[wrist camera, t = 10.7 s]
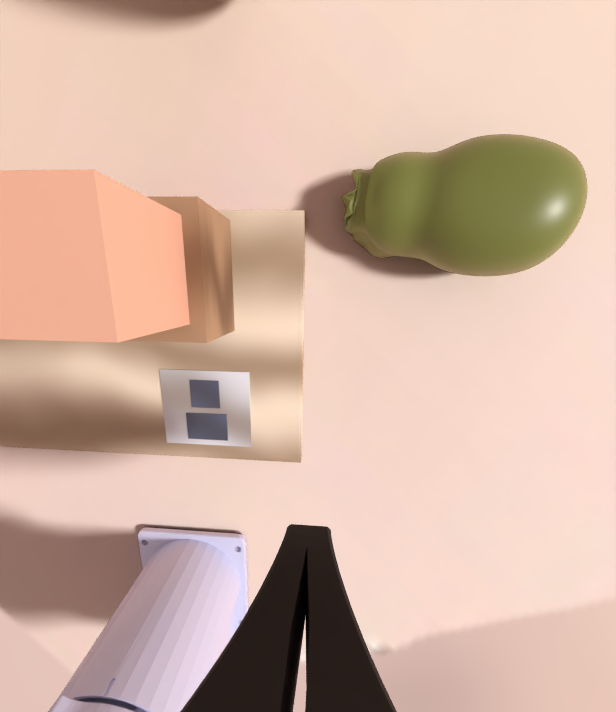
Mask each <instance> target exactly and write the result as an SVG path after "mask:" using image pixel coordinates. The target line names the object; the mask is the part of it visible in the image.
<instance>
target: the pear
mask: <svg viewBox="0 0 616 712" xmlns="http://www.w3.org/2000/svg"><path fill="white" fill-rule="evenodd" d="M352 177H353V181H354V184H355V186H356V189H354V190H352V191H350V192H348V193H346V194H345V195H347V196H345V195H343V196H342V199H343V202H344V205H345V208H346V213H345V217H344V230H345V231H347V232H348V233H350V234H351V235H352V236H353V237H354V240H355V241H356V242H357V243H359V244H360V245H361V246H362V247H365V248H366V249H367V251H368V252H369V253H370V254H371V255H373V256H375V257H380V258H385V257H390V256H401V257H410V258H417V259H421V260H424V261H426V262H428V263H430V264H431V265H433V266H435V267H437V268H440V269H442V270H445V271H448V272H452V273H457V274H463V275H471V276H499V275H507V274H512V273H517V272H520V271H524V270H526V269H529V268H531V267H534V266H536V265H538V264H539V263H541V262H543V261H544V260H546V259H547V258H549V257H550V256H551V255H553V254H554V253H555V252H556V251H557V250H558V249H559V248H560V247H561V246H562V245H563V244H564V243H565V242H566V241H567V239H568V238H569V237H570V235H571V234H572V233H573V231H574V229H575V228H576V226H577V224H578V222H579V220H580V218H581V216H582V213H583V211H584V208H585V204H586V199H587V179H586V174H585V171H584V168H583V166H582V164H581V163H580V161H579V160H578V158H577V157H576V156H575V155H574V154H573V153H571V152H570V151H569V150H567V149H566V148H564V147H562V146H560V145H558V144H556V143H553V142H550V141H547V140H543V139H539V138H535V137H529V136H523V135H511V134H497V135H486V136H480V137H476V138H472V139H469V140H466V141H463V142H461V143H458V144H456V145H454V146H451V147H449V148H447V149H444V150H442V151H439V152H432V153H422V152H404V153H398V154H394V155H391V156H389V157H386V158H384V159H382V160H380V161H379V162H378V163H377V164H376V165H375V167H374V168H373V169H371V170H360V169H359V170H354V171H352ZM352 194H355V195H352ZM348 195H350V196H348Z"/></svg>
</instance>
